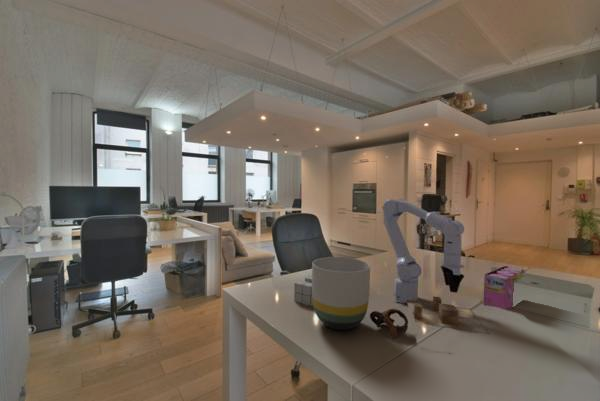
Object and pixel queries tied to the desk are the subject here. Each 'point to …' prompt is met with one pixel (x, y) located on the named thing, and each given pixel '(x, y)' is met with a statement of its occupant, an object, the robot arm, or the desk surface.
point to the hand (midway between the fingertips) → (451, 288)
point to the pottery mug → (389, 321)
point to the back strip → (460, 311)
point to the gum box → (500, 287)
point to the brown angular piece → (427, 316)
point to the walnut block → (448, 314)
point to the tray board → (461, 317)
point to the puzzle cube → (303, 291)
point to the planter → (340, 291)
